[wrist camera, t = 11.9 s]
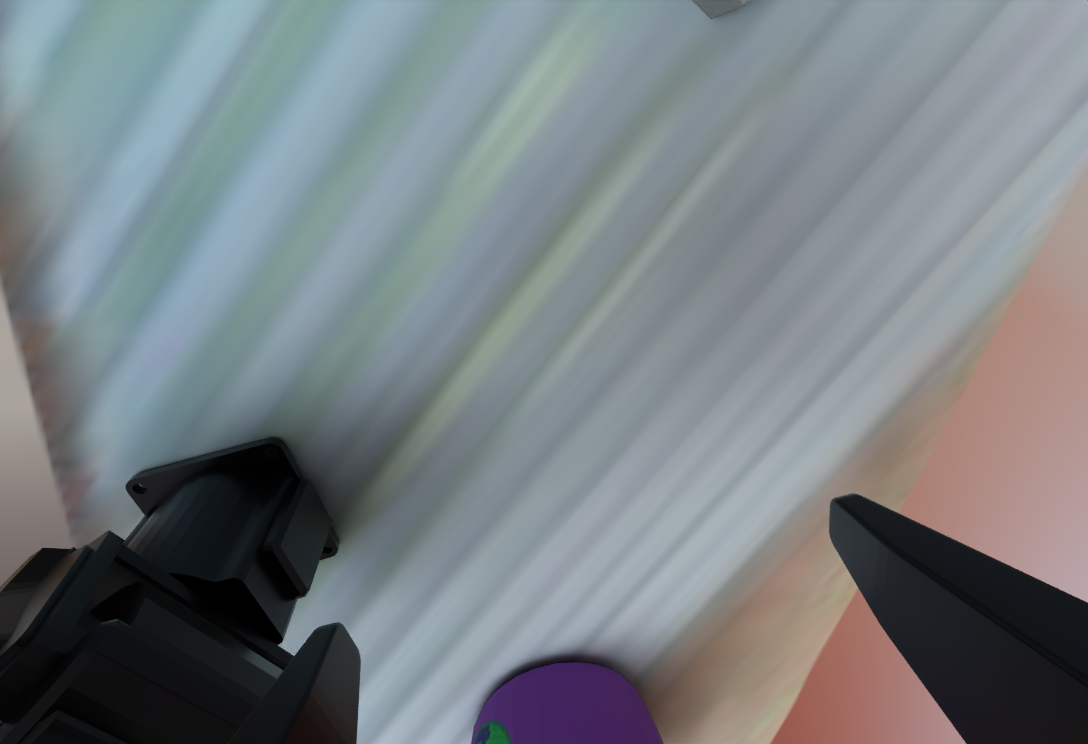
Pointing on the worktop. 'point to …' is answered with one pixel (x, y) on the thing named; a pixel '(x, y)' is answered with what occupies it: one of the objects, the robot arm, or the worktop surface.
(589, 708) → the purple oval open container
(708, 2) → the flat gray square pad
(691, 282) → the worktop surface
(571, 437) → the worktop surface
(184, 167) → the worktop surface
